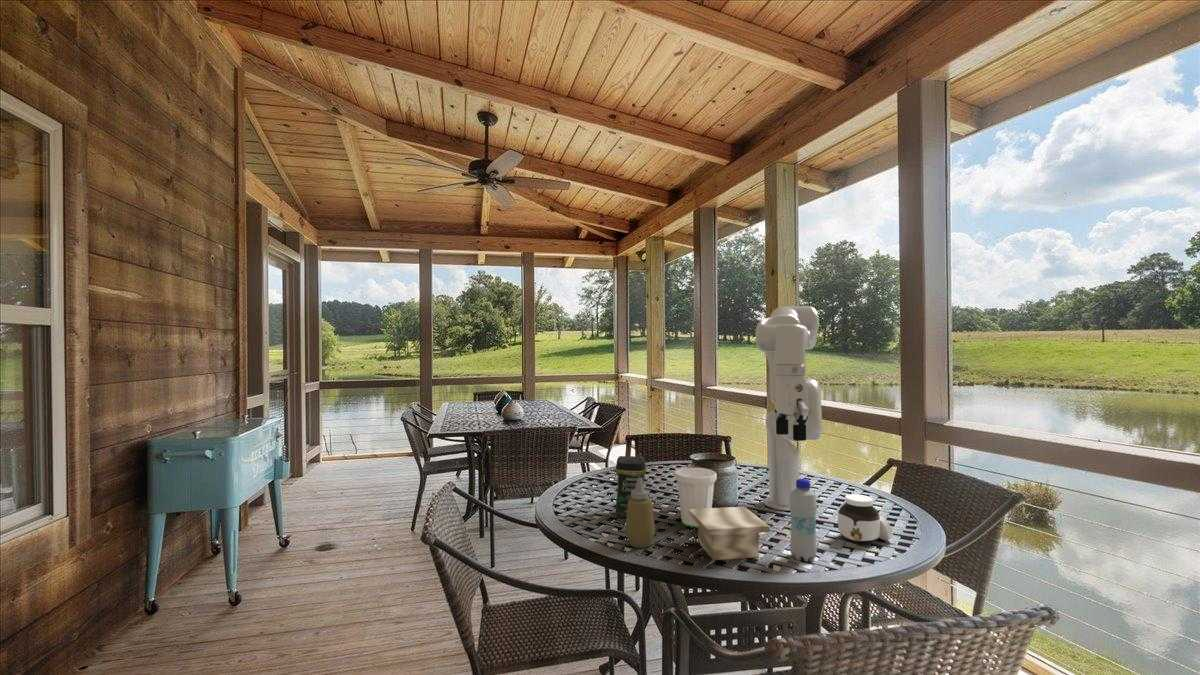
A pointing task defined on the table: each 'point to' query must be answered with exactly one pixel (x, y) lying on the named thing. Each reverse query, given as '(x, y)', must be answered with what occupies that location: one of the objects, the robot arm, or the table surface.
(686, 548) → the table surface
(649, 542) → the squeeze bottle
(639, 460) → the coffee jar
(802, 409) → the robot arm
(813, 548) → the bottle
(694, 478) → the cup
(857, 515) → the spread jar
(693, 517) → the stand
